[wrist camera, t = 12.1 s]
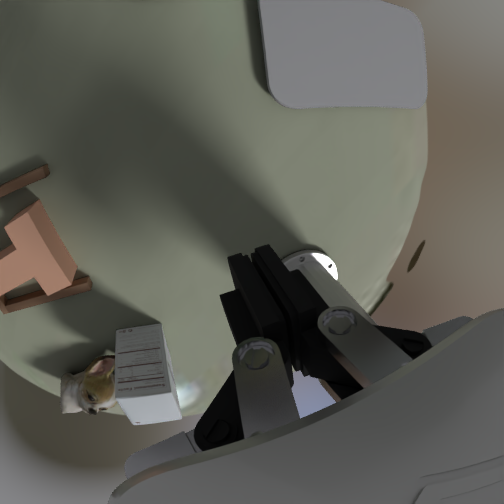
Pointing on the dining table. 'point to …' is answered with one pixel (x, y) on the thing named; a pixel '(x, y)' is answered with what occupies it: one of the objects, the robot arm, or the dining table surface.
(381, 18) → the tablet
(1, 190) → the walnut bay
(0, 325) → the dining table surface
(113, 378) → the ceramic sculpture
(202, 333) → the dining table surface
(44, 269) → the t block
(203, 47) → the dining table surface
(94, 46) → the dining table surface
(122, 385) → the supplement box
